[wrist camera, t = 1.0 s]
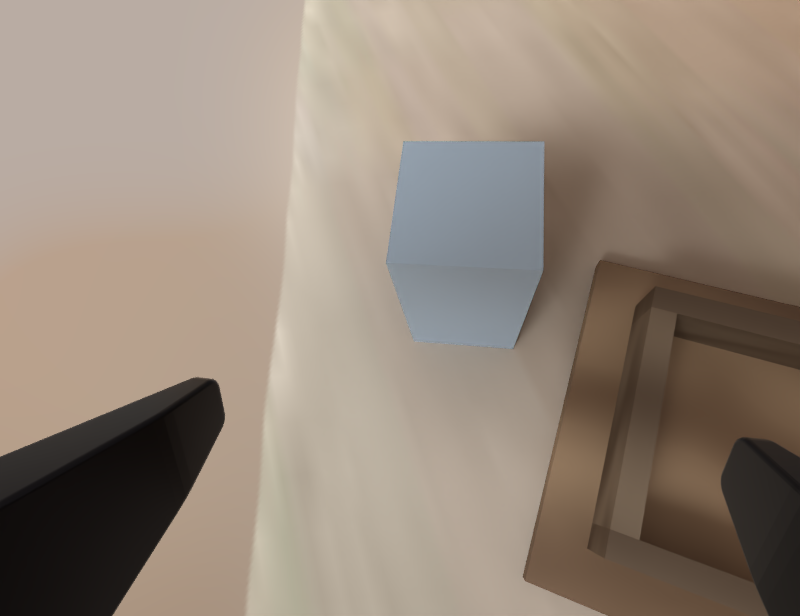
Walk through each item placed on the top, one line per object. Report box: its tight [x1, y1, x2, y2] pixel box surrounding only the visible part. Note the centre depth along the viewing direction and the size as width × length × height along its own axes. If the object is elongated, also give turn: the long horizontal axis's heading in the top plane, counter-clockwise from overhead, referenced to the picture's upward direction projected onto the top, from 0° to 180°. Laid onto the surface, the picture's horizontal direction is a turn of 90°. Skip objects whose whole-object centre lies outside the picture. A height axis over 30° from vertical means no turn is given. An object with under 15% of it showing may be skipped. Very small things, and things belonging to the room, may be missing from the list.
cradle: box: [523, 260, 800, 616], centre depth 17 cm, size 15×15×3 cm
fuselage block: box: [386, 141, 544, 349], centre depth 19 cm, size 5×5×9 cm
